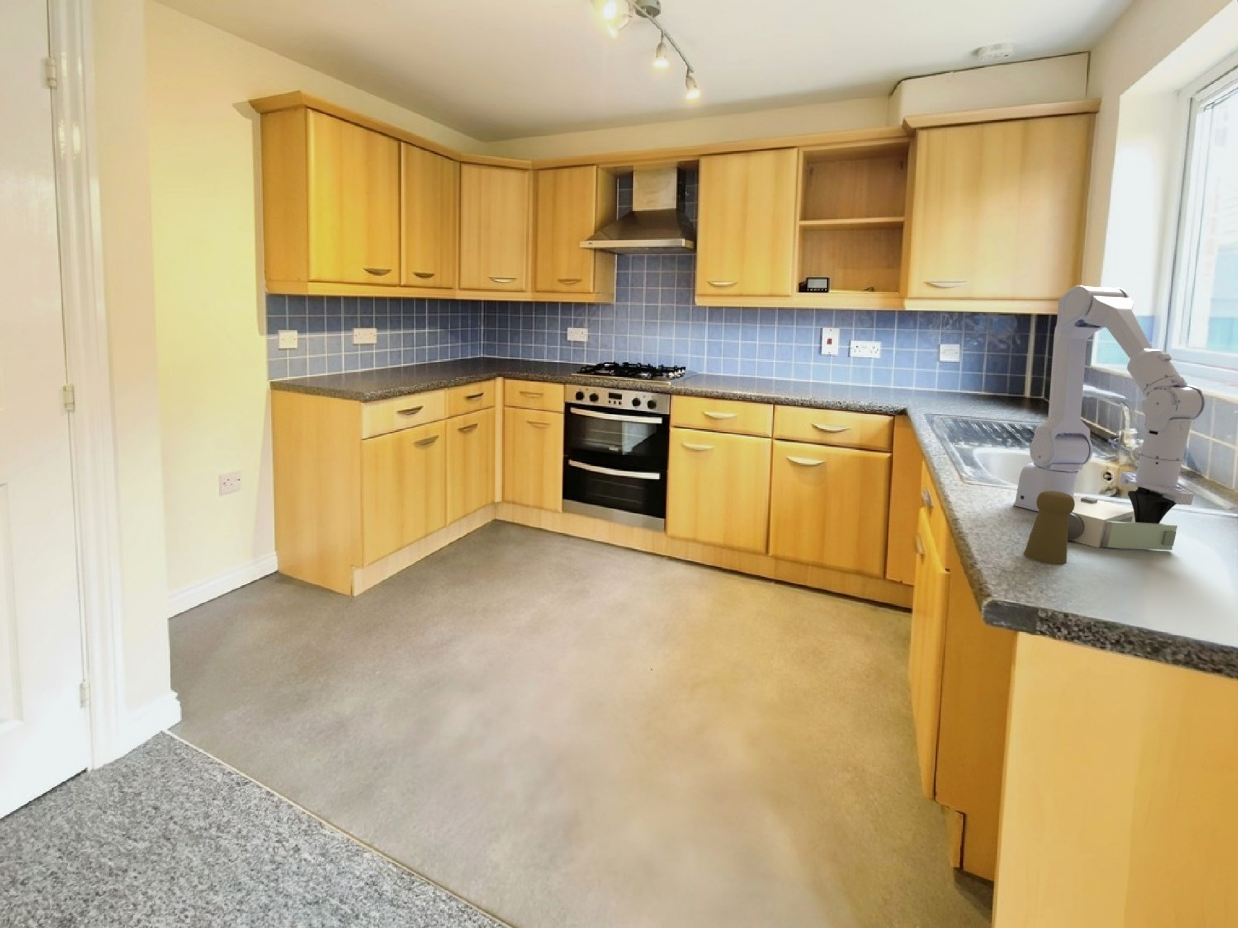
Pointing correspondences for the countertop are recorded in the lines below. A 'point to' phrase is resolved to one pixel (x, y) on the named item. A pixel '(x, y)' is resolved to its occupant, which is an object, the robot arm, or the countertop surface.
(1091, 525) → the camera box
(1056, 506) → the cork
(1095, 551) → the countertop surface
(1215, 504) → the countertop surface
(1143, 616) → the countertop surface
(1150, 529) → the side door
